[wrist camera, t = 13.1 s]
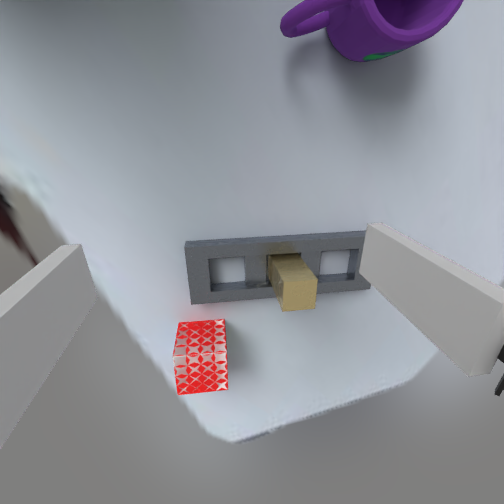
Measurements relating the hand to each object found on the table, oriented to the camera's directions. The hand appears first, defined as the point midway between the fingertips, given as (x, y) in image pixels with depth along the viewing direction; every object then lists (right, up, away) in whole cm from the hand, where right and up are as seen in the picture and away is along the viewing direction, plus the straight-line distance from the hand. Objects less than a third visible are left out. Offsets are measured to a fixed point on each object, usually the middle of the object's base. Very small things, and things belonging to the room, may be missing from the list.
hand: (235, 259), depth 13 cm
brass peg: (+6, -1, +31) cm, 32 cm away
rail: (+6, -1, +31) cm, 32 cm away
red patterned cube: (-8, -15, +35) cm, 39 cm away
